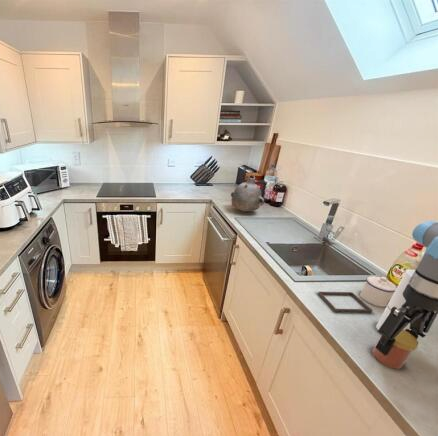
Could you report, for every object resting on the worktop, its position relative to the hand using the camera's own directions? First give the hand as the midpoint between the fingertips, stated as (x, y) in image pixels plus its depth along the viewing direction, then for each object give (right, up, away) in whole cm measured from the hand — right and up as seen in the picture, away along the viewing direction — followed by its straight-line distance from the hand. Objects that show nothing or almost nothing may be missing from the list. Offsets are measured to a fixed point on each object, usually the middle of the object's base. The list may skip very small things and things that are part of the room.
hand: (392, 349), depth 72 cm
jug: (+3, +46, +117) cm, 126 cm away
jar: (0, -4, +2) cm, 5 cm away
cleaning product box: (+16, +54, +136) cm, 148 cm away
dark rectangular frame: (+5, +5, +24) cm, 25 cm away
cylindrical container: (+10, -1, +11) cm, 15 cm away
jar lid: (0, +5, -2) cm, 6 cm away
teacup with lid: (+20, +6, +27) cm, 34 cm away
